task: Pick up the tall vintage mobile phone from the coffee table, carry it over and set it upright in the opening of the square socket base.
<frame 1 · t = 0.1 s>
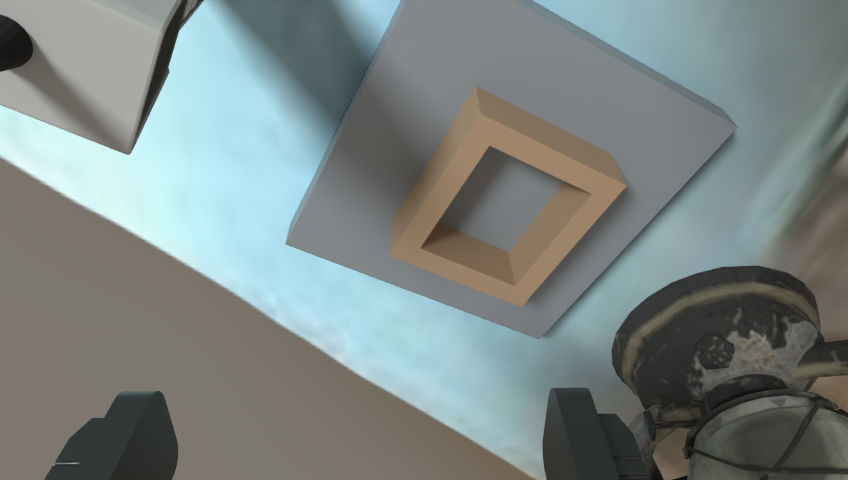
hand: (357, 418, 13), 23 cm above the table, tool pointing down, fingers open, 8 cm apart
square socket base: (493, 170, 36), on the table
lantern: (722, 354, 46), on the table
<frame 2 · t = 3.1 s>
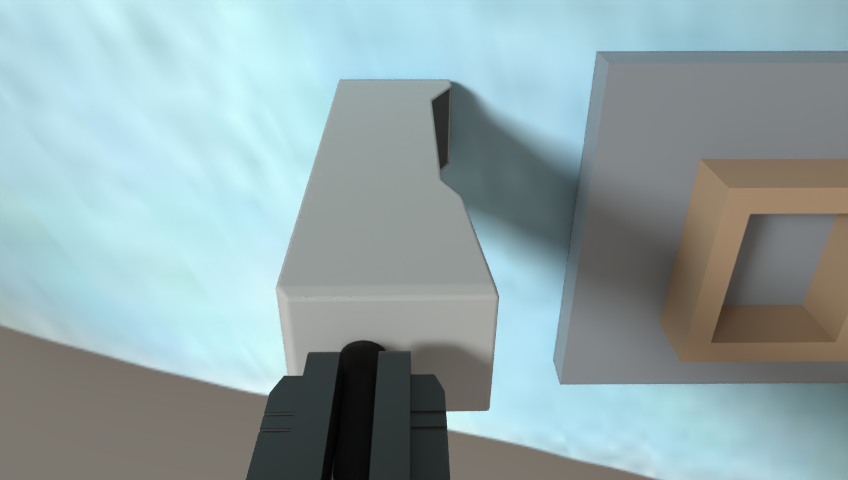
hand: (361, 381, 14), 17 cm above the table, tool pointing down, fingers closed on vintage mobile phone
vintage mobile phone: (395, 115, 29), on the table, touching gripper
square socket base: (745, 227, 32), on the table
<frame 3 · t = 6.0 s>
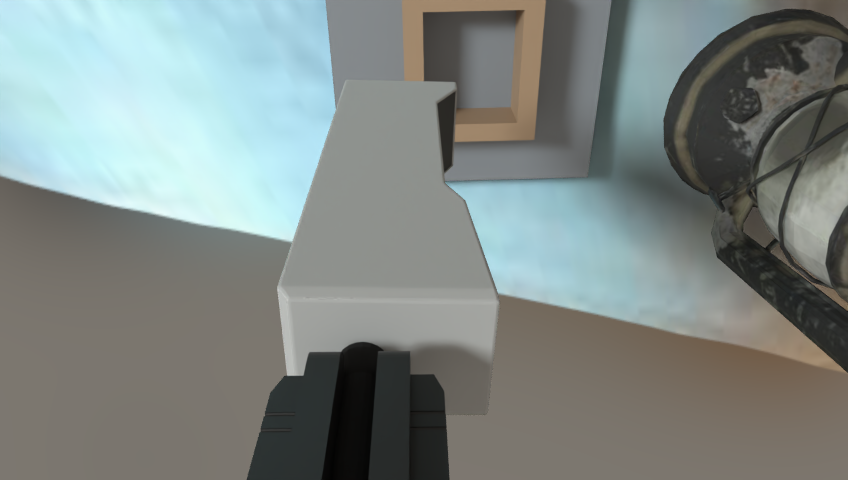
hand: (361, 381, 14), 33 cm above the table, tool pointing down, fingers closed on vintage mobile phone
vintage mobile phone: (401, 116, 29), point 15 cm above the table, touching gripper
square socket base: (465, 49, 43), on the table
lantern: (785, 122, 46), on the table
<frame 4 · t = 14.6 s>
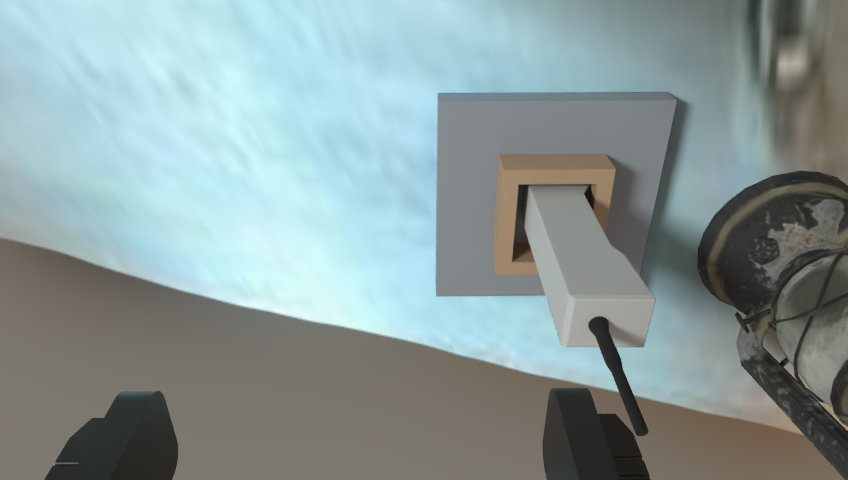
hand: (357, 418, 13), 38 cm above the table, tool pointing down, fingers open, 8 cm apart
vintage mobile phone: (552, 195, 51), point 2 cm above the table, touching square socket base
square socket base: (541, 195, 53), on the table
lantern: (797, 252, 57), on the table
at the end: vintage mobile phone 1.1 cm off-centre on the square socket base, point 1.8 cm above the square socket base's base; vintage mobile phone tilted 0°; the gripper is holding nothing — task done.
